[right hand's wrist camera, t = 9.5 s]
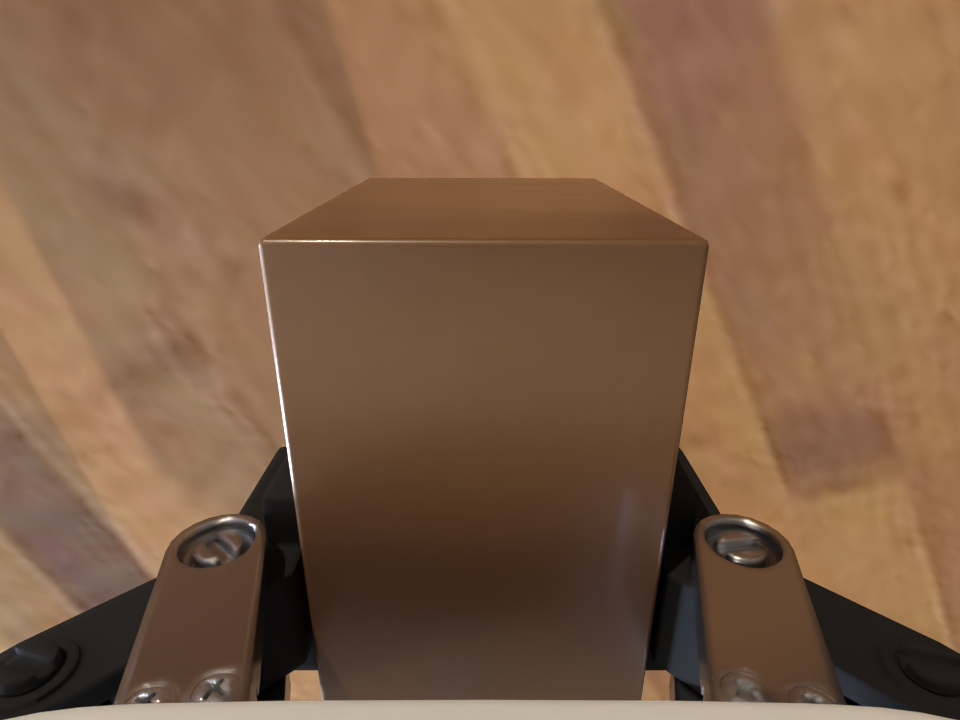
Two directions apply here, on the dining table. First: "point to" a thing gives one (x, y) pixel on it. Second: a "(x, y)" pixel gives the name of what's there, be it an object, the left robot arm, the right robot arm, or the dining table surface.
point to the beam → (482, 431)
